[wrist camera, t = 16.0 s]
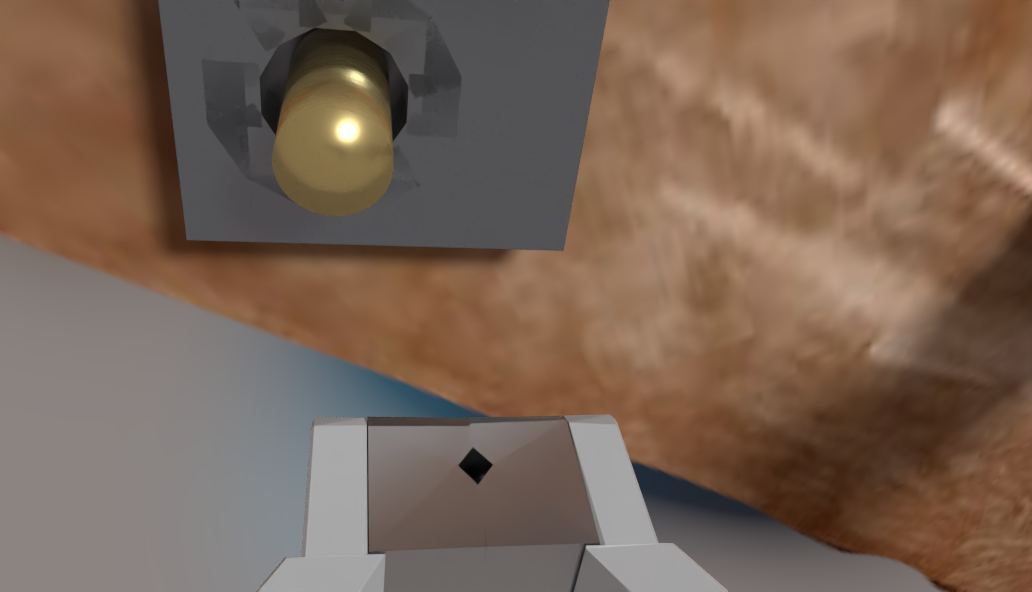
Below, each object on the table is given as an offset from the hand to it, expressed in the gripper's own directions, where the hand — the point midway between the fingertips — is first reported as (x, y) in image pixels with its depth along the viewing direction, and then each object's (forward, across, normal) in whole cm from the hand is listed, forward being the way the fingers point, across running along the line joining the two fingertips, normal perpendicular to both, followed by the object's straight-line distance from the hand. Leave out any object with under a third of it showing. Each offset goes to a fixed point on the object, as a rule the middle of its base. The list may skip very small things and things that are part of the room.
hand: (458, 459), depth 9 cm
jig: (+29, 0, +7) cm, 30 cm away
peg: (+28, +2, +7) cm, 29 cm away
